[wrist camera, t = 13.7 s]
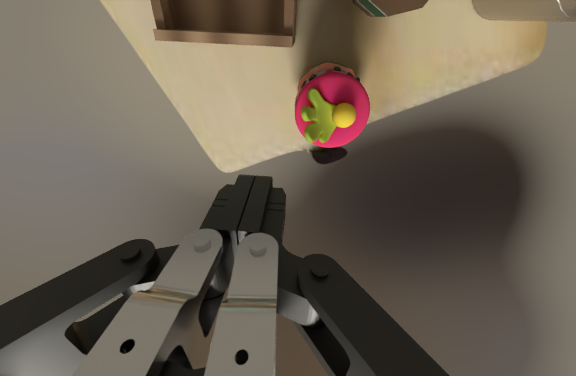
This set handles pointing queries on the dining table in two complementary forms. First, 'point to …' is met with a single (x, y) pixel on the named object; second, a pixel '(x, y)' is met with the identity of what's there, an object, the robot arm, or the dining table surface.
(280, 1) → the wooden box
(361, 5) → the beer bottle
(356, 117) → the cake
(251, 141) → the dining table surface
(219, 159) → the dining table surface
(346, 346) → the robot arm
